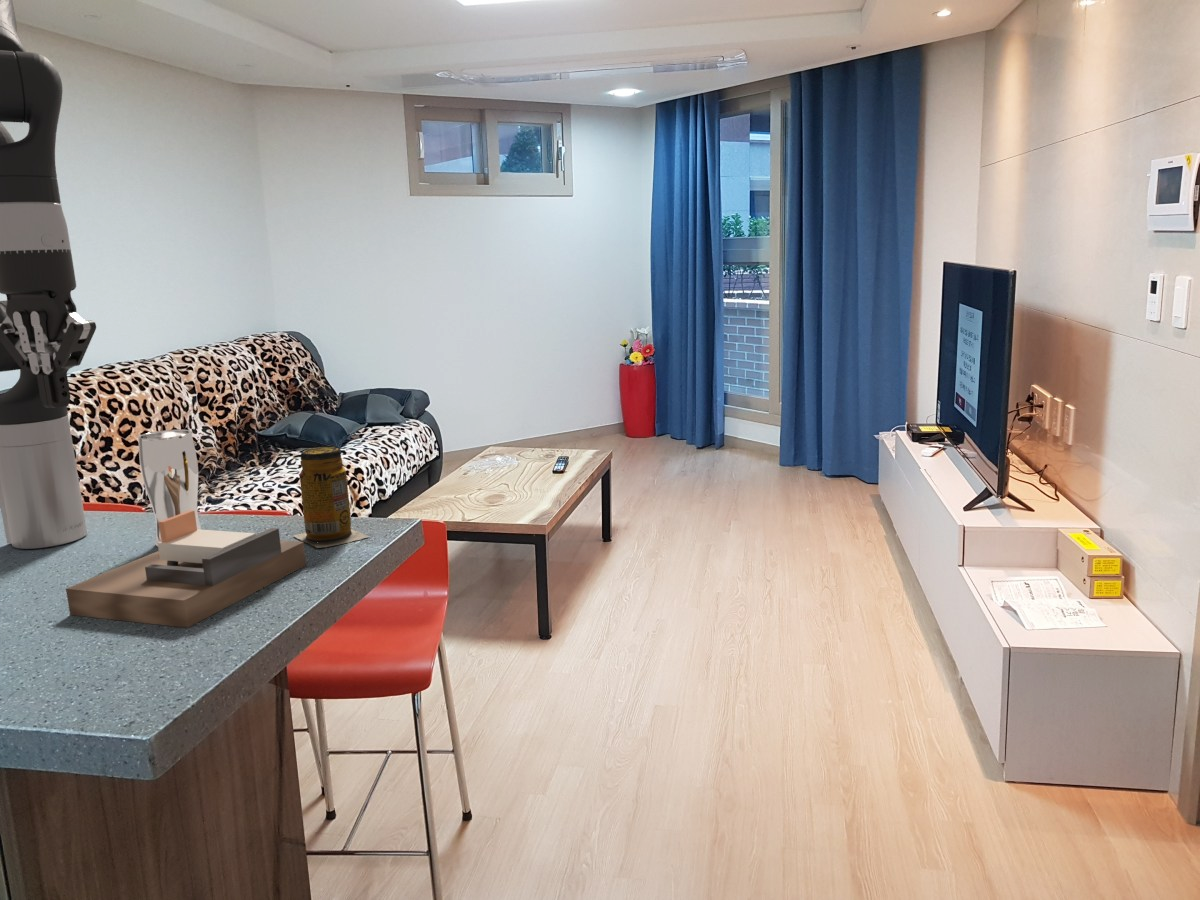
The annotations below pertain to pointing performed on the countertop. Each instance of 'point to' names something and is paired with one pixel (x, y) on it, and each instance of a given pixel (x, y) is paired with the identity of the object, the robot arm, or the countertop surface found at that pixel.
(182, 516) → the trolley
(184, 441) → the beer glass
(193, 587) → the dock
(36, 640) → the countertop surface
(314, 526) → the condiment
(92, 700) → the countertop surface
